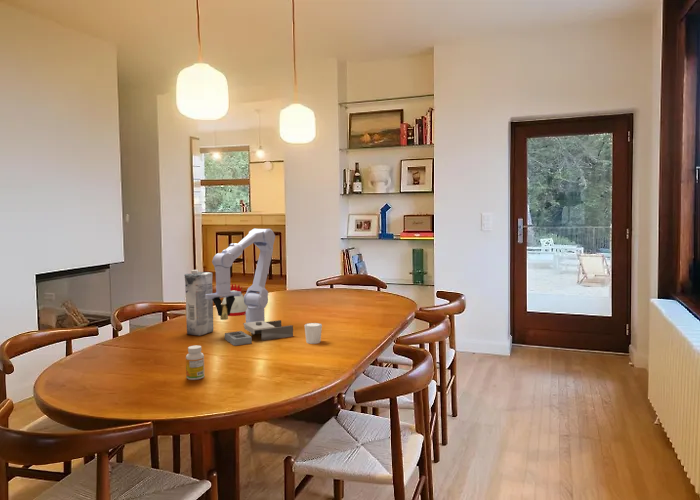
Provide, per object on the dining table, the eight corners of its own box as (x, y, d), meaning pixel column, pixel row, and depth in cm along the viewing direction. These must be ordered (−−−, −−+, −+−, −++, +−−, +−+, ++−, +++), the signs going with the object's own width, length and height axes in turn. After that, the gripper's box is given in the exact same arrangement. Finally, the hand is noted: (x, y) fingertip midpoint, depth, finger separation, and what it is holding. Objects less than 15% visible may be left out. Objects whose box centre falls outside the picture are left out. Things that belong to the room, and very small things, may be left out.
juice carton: (216, 331, 224) (215, 269, 222) (200, 336, 214) (198, 271, 212) (200, 329, 228) (198, 268, 225) (183, 334, 218) (181, 270, 216)
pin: (219, 318, 215) (219, 304, 215) (226, 317, 217) (226, 303, 216) (221, 320, 212) (221, 305, 212) (228, 319, 214) (228, 304, 213)
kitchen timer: (245, 316, 255) (244, 286, 254) (217, 316, 256) (216, 286, 254) (251, 310, 269) (250, 281, 268) (224, 310, 270) (223, 282, 268)
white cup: (324, 340, 207) (324, 323, 207) (318, 344, 201) (317, 326, 200) (308, 339, 209) (308, 322, 209) (301, 343, 203) (301, 325, 202)
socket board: (224, 339, 210) (224, 333, 210) (241, 336, 214) (241, 330, 213) (234, 345, 200) (234, 339, 200) (251, 343, 203) (251, 337, 203)
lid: (243, 328, 216) (243, 320, 216) (262, 325, 221) (262, 318, 221) (254, 334, 205) (254, 326, 205) (274, 331, 210) (274, 324, 210)
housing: (250, 334, 218) (250, 323, 218) (280, 330, 225) (280, 320, 225) (262, 340, 207) (261, 329, 207) (293, 336, 214) (292, 325, 214)
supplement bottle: (188, 374, 165) (187, 344, 164) (205, 374, 166) (205, 344, 165) (184, 380, 160) (183, 349, 159) (202, 379, 160) (201, 349, 159)
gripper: (208, 284, 206) (209, 318, 207) (243, 282, 213) (244, 314, 215) (203, 282, 212) (204, 315, 213) (237, 280, 220) (238, 311, 221)
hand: (224, 315), depth 214 cm, fingers closed on pin, 3 cm apart
